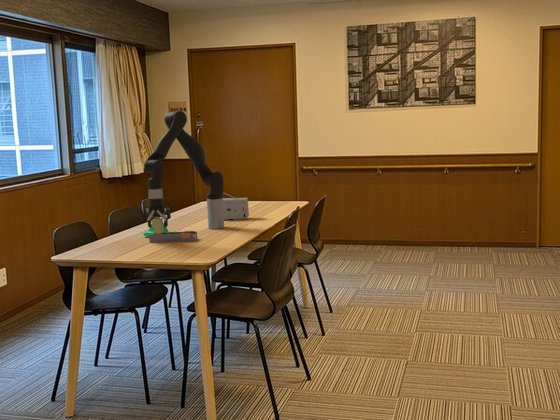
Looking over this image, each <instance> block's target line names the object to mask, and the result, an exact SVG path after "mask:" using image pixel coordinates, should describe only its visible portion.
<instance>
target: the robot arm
mask: <svg viewBox="0 0 560 420" xmlns="http://www.w3.org/2000/svg"><path fill="white" fill-rule="evenodd" d="M187 121H188V118H187V114H186V113H185V112H184V111H182V110H177V111H171V112H167V113H166V114H165V115H164V123H165V125H166V127H167V129H168V130H167V131H166V133H165V134H164V135H163V136H162V137H161V138H160V139H159V140H158V142H157V144H156V145H155V148H154V150H153V152H152V153H151V154H150V155H148V157H147V159H146V160H145V162H144V165H143V170H144V171H145V172H146V173H148V174H153V176H152V177H150V178H148V181H147V184H148V187H147V188H148V192H147V193H148V207H149V208H146V207H145V208H144V209H143V220H144V221H147V227H148V228H149V229H150V228H151V227H152V218H153V217H154V218H156V217H160V218H163V223H164V227H165V228H167V227H168V224H169V222H168V220H170V219H172V215H171V209H170V207H166V208H165V207H164V193H163V184H162V183H163V181H162V180H163V175H164V170H165V169H164V168H165V167H164V163H163V160H165V159H166V157H167V155H168V153H169V151H170V149H171V147H172V146H173V143H174V142H175V140H177V141H178V143H179V144H180V145H181V147H182V149H183V151H184V153H185V154H186V156H187V157H188V159H189V160H190V161H191V163H192V165H193V166H194V168H195V169H196V171H197V172H198V175H199V177H200V179H201V181H202V182H203V184H204V185H205V186H206V187H208V188H210V191H209V193H206V209H207V223H208V224H207V225H208V229H210V230H217V229H218V230H219V229H224V228H225V220H224V213H223V199H224V197H223V194H224V193H225V192H224V191H225V190H224V177H223V174H222V172H221V171H217V170H216V171H215V170H211V169H210V167H209V166H208V165H207V162H206V157H205V155H206V154H205V151H204V149H203V147H202V145H201V144H200V142H199V141H198V140H197V139H196V138H195V137H193V136H192V135H190V134H189V133H188V132H187V131H185V130H184V128H185V126H186V124H187ZM223 192H224V193H223ZM164 212H166V213H164ZM148 213H150V214H149V216H148Z"/></svg>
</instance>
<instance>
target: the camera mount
mask: <svg viewBox="0 0 560 420" xmlns="http://www.w3.org/2000/svg"><path fill="white" fill-rule="evenodd" d="M155 218H156V217H154V218H153V219H155ZM153 219H151V225H152V227H151V228H149V229H148V231H144V232H143V233H142V234H143V236H144V237H149V235H151V234H153V233H154V228H153ZM163 232H170V231H169V230H168V228H167V227H166V228H165V227H164V222H163Z"/></svg>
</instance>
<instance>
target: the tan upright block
mask: <svg viewBox="0 0 560 420" xmlns="http://www.w3.org/2000/svg"><path fill="white" fill-rule="evenodd" d="M154 218H155V219H154ZM154 218H153V219H152V220H153V228H154V234H164V232H163V223H164V219H163V218H162V217H161V216H155V217H154Z"/></svg>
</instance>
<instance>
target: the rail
mask: <svg viewBox="0 0 560 420" xmlns="http://www.w3.org/2000/svg"><path fill="white" fill-rule="evenodd" d="M148 239H149V243H187V242H189V243H191V242H195V241H197V240H198V231H195V230H185V231H169V232H164V234H154V233H153V234H151V235H149V236H148Z"/></svg>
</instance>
